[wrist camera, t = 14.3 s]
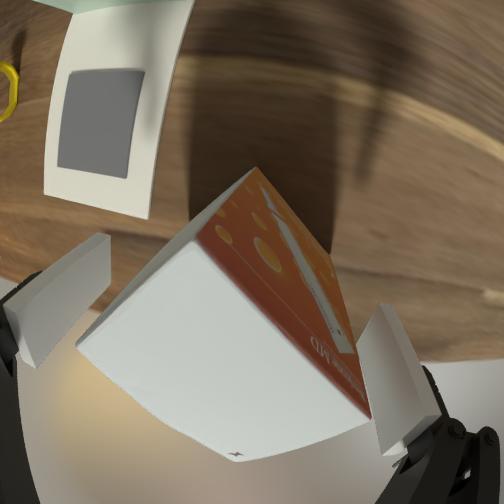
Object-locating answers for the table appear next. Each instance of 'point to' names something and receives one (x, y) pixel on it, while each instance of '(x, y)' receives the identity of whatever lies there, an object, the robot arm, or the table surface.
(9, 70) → the watch
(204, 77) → the table surface
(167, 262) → the small box
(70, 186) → the base
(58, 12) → the table surface
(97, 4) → the block
